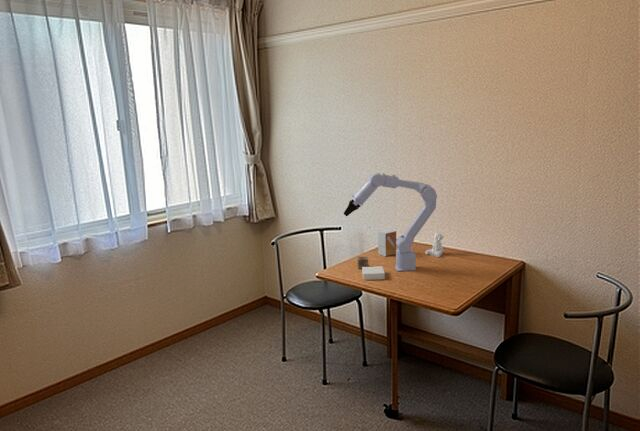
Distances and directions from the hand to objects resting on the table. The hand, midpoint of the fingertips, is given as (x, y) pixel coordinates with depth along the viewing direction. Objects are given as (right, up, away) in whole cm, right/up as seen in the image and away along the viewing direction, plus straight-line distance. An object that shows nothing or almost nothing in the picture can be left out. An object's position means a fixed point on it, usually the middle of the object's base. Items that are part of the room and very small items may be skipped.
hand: (346, 214), depth 229 cm
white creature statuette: (+51, -22, +25) cm, 61 cm away
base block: (+13, -30, -3) cm, 33 cm away
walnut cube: (+9, -27, +9) cm, 30 cm away
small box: (+25, -22, +29) cm, 44 cm away
